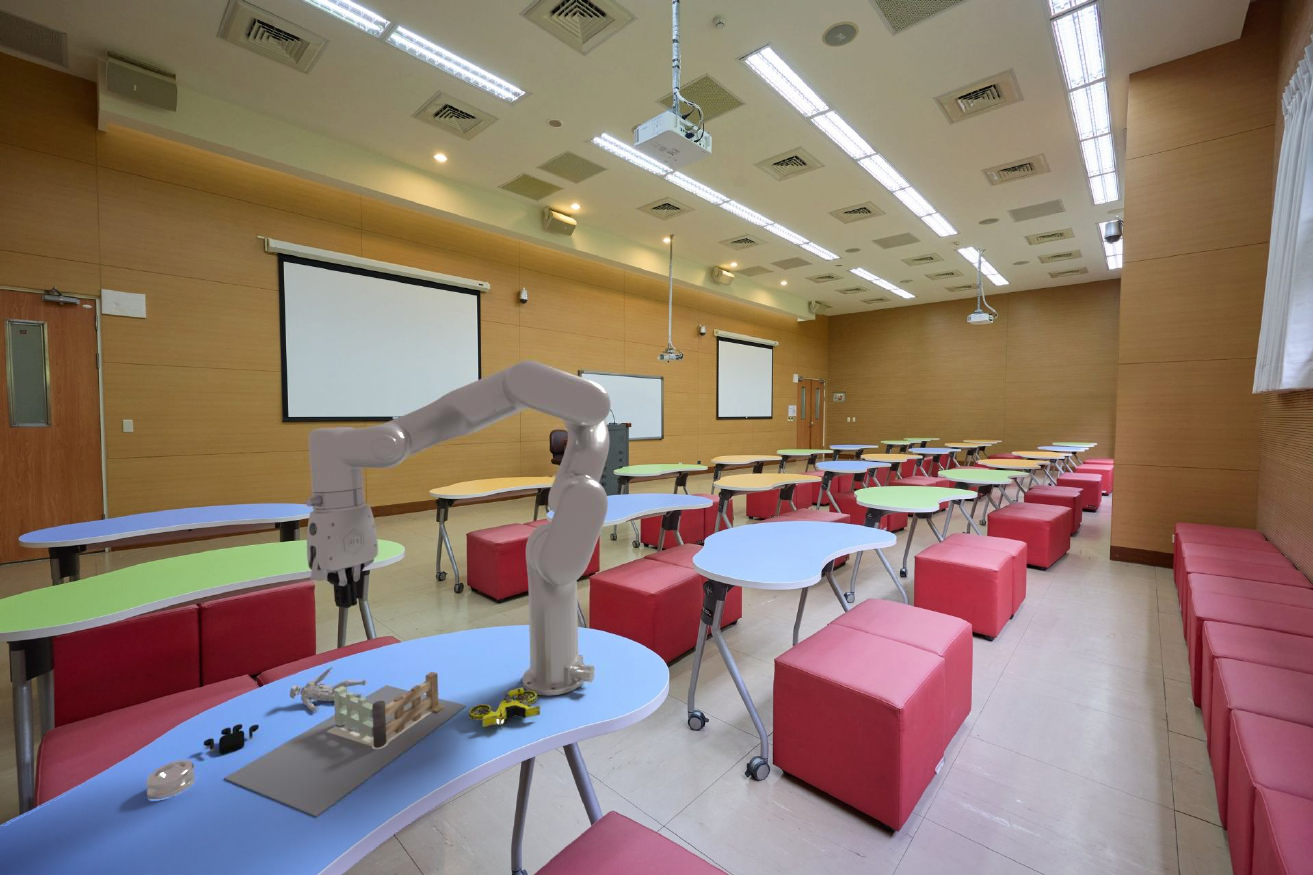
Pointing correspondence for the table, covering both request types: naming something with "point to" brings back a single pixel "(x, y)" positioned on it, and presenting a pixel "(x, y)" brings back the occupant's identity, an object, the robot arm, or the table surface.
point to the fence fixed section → (397, 708)
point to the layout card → (334, 758)
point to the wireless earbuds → (231, 739)
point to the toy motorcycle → (507, 708)
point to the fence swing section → (353, 711)
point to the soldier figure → (321, 690)
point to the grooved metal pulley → (170, 779)
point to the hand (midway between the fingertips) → (346, 605)
